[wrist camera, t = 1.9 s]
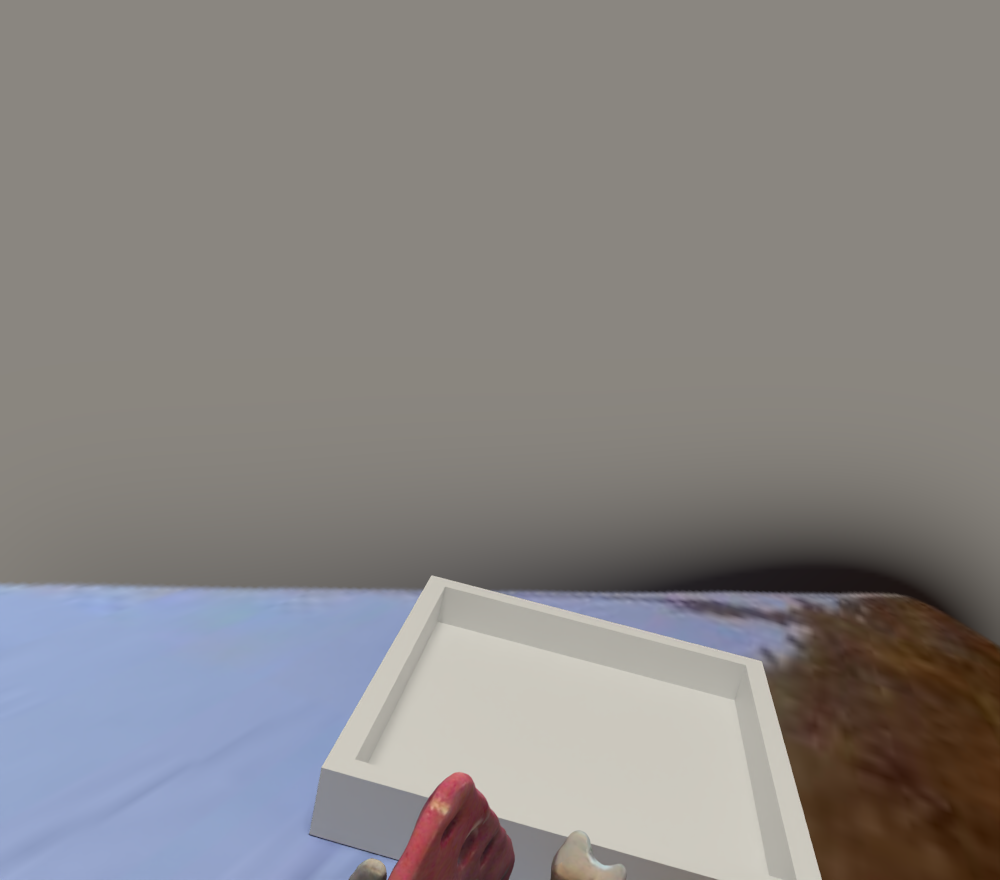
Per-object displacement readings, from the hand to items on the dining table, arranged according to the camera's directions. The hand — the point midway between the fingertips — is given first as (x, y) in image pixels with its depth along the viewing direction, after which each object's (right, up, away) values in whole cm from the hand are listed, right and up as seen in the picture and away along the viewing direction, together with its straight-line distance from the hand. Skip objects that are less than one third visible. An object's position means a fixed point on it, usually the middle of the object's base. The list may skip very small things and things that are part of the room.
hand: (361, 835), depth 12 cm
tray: (+5, -10, +32) cm, 34 cm away
